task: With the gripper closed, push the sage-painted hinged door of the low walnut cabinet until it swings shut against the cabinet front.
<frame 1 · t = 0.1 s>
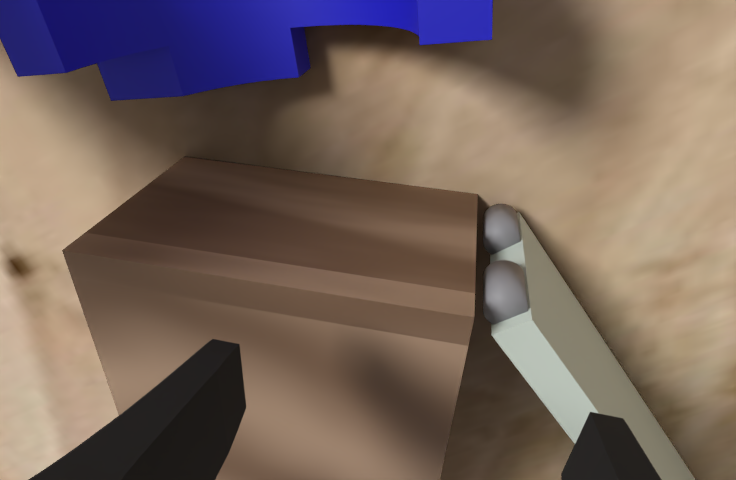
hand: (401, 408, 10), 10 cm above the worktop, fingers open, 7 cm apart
cabinet door: (629, 439, 19), point 3 cm above the worktop, hinge at 40.0°
cabinet: (328, 359, 25), on the worktop
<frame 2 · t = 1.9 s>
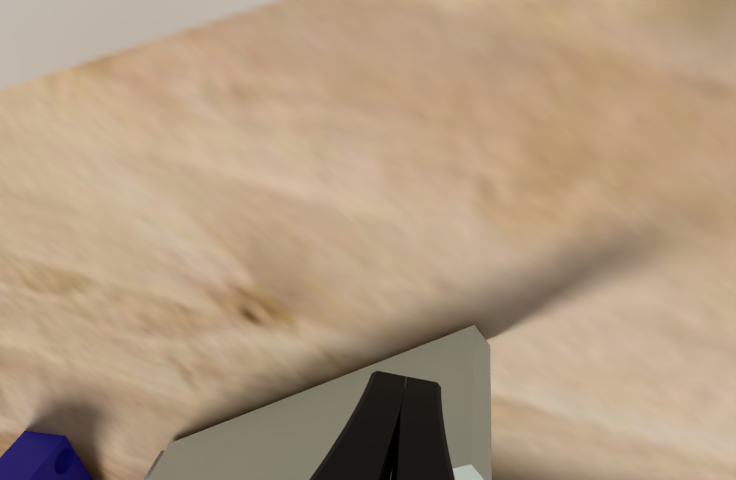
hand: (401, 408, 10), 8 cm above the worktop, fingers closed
cabinet door: (272, 461, 21), point 3 cm above the worktop, hinge at 40.0°
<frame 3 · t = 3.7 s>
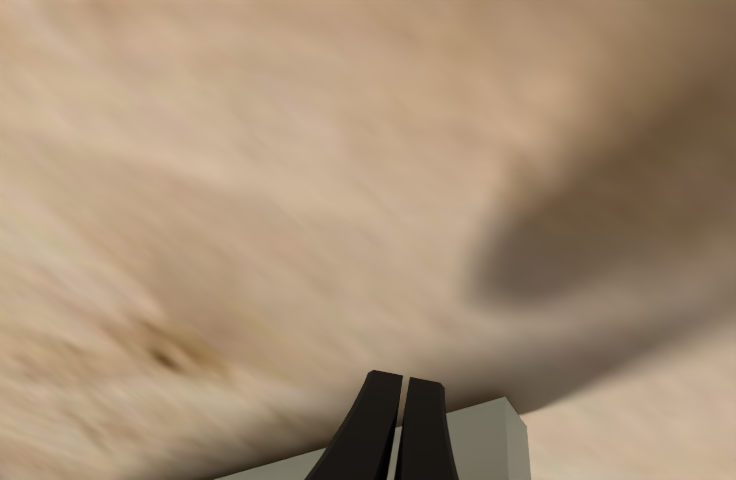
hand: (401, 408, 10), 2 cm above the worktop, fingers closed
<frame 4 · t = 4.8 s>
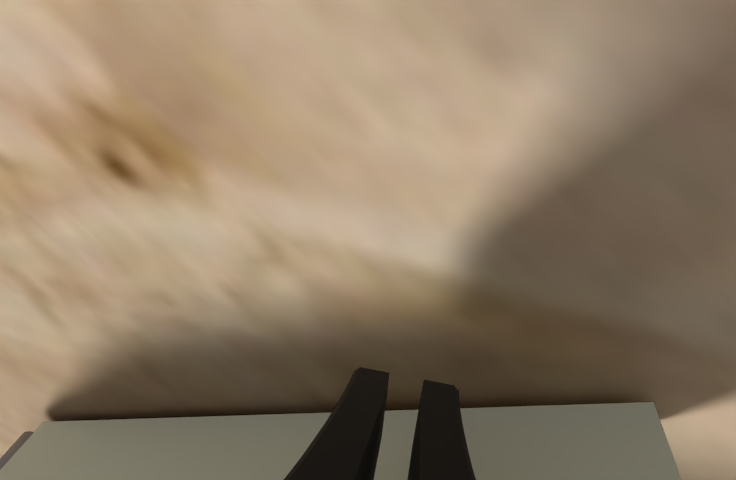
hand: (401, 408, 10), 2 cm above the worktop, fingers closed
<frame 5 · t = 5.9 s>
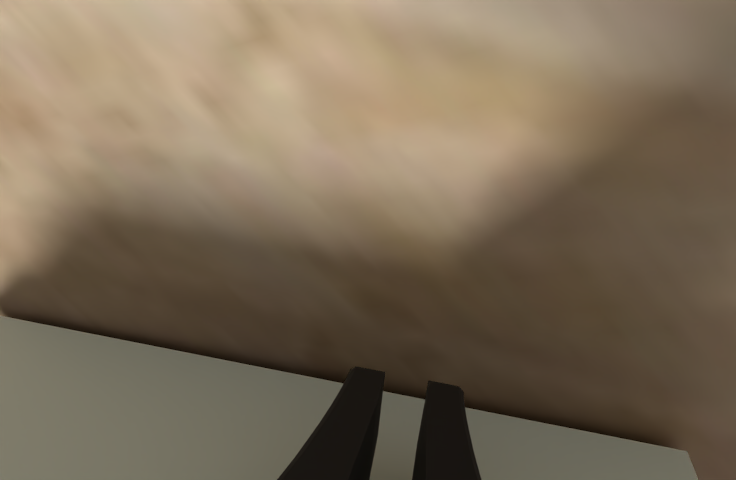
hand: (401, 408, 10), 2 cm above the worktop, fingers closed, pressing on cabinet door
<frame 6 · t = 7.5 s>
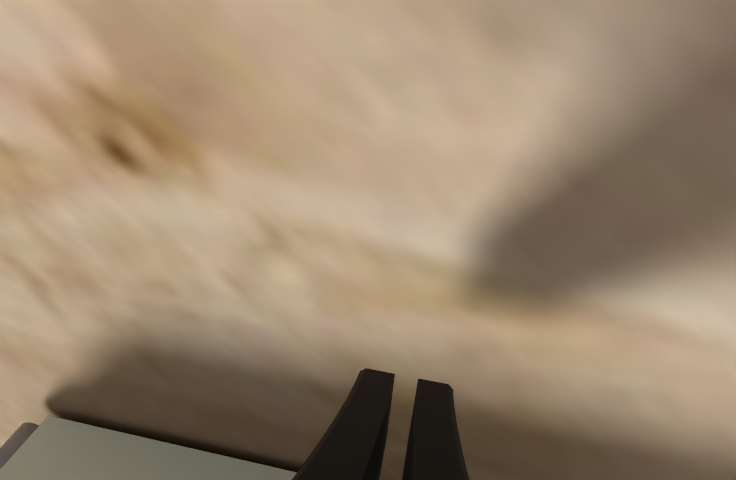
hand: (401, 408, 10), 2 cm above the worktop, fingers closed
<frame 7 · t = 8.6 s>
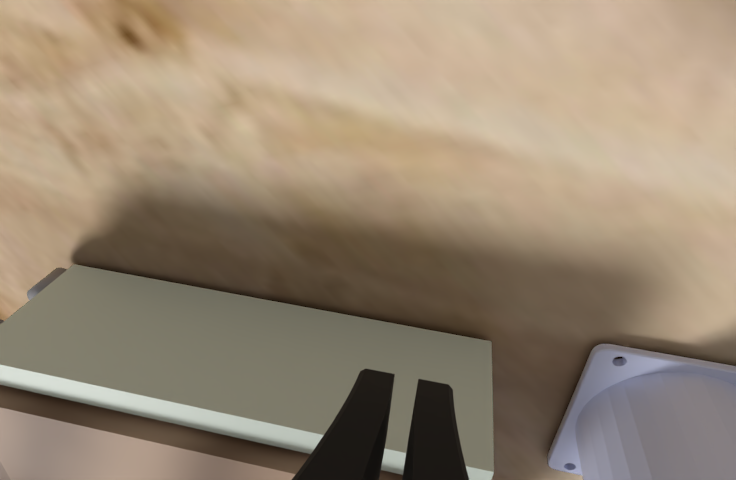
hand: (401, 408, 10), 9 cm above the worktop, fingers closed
cabinet door: (234, 357, 20), point 3 cm above the worktop, hinge at -0.4°
cabinet: (270, 400, 26), on the worktop
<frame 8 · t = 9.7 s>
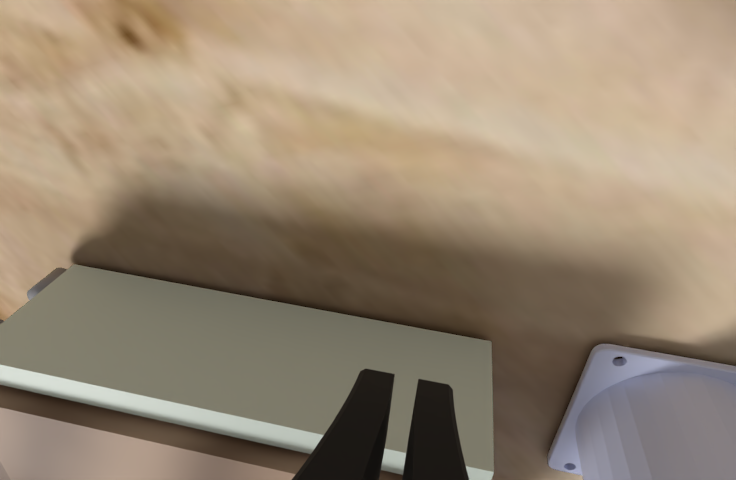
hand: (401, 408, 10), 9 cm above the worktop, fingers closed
cabinet door: (234, 357, 20), point 3 cm above the worktop, hinge at -0.4°
cabinet: (270, 400, 26), on the worktop
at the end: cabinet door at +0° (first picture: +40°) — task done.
